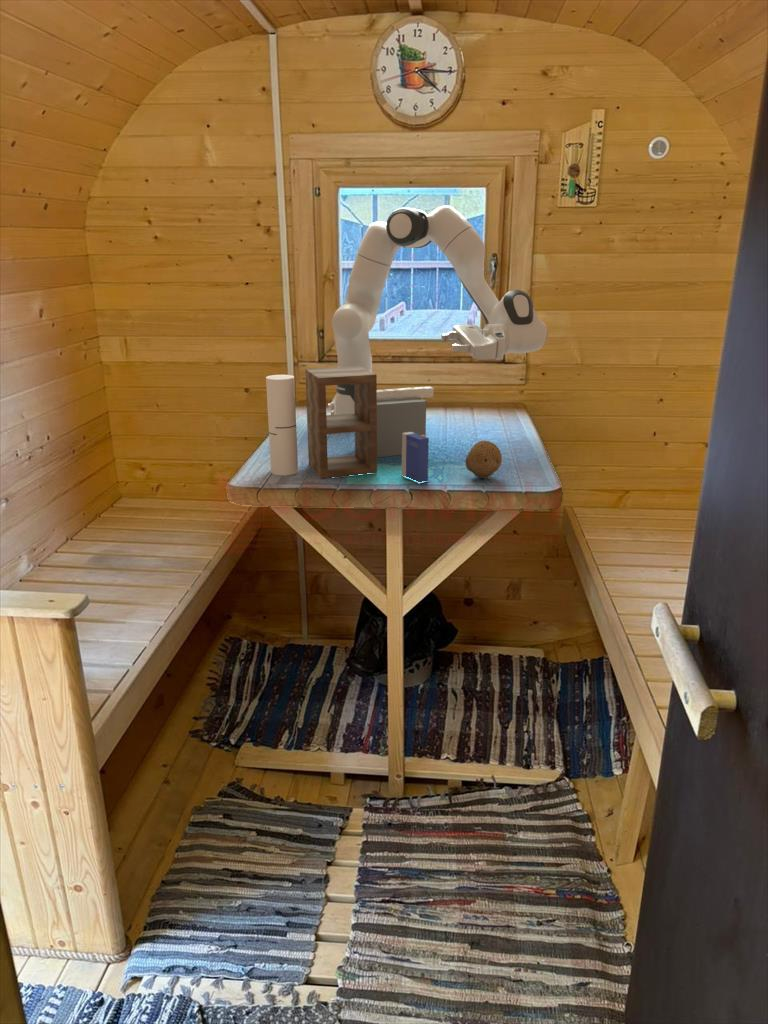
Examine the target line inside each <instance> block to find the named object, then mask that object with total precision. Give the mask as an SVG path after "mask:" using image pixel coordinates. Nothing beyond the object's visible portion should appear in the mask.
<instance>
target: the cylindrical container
mask: <svg viewBox="0 0 768 1024" xmlns="http://www.w3.org/2000/svg"><path fill="white" fill-rule="evenodd" d="M265 383H266V384H265V387H266V402H267V406H266V407H267V421H268V423H267V424H268V440H269V453H270V454H269V459H270V461H269V462H270V473H271V474H272V475H275V476H291V475H295V474H297V473H298V472H299V461H298V459H299V457H298V456H299V455H298V437H297V435H298V434H297V415H296V414H297V413H296V410H297V409H296V394H295V393H296V386H295V376H294V375H291V374H272V375H268V376H266V377H265Z"/></svg>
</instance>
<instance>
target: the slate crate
mask: <svg viewBox="0 0 768 1024" xmlns="http://www.w3.org/2000/svg"><path fill="white" fill-rule="evenodd" d="M426 426H427V401H426V399H424V398H411V399H397V400H383V401H377V458H381V457H382V458H383V456H385V457H392V456H393V457H394V455H395V456H402V433H406V432H413V433H416V434H419V435H425V436H426V437H427V435H426V434H427V432H426V431H427V427H426Z"/></svg>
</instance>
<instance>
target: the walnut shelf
mask: <svg viewBox="0 0 768 1024" xmlns="http://www.w3.org/2000/svg"><path fill="white" fill-rule="evenodd" d="M304 371H305V397H306V400H305V401H306V421H307V423H306V424H307V451H308V456H307V457H308V465H309V467H310V468H311V469H312V470H313V472H315V474H316V475H317V477H319V478H320V479H321V480H324V479H323V478H330V479H333V478H332V477H340V478H343V477H342V476H349V475H358V474H367V473H376V472H377V473H378V457H377V390H378V389H377V388H378V387H377V386H378V385H377V382H378V381H377V374H376V373H375V372H373V371H372V372H371V371H369V370H367V369H365V368H363V367H361V366H350V367H338V366H335V367H318V368H305V370H304ZM345 384H354V409H355V413H351V414H337V415H326V414H327V392H326V391H327V389H326V388H327V386H336V385H345ZM347 433H354V454H348V455H339V456H337V455H336V456H329V455H328V435H335V434H347Z"/></svg>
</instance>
